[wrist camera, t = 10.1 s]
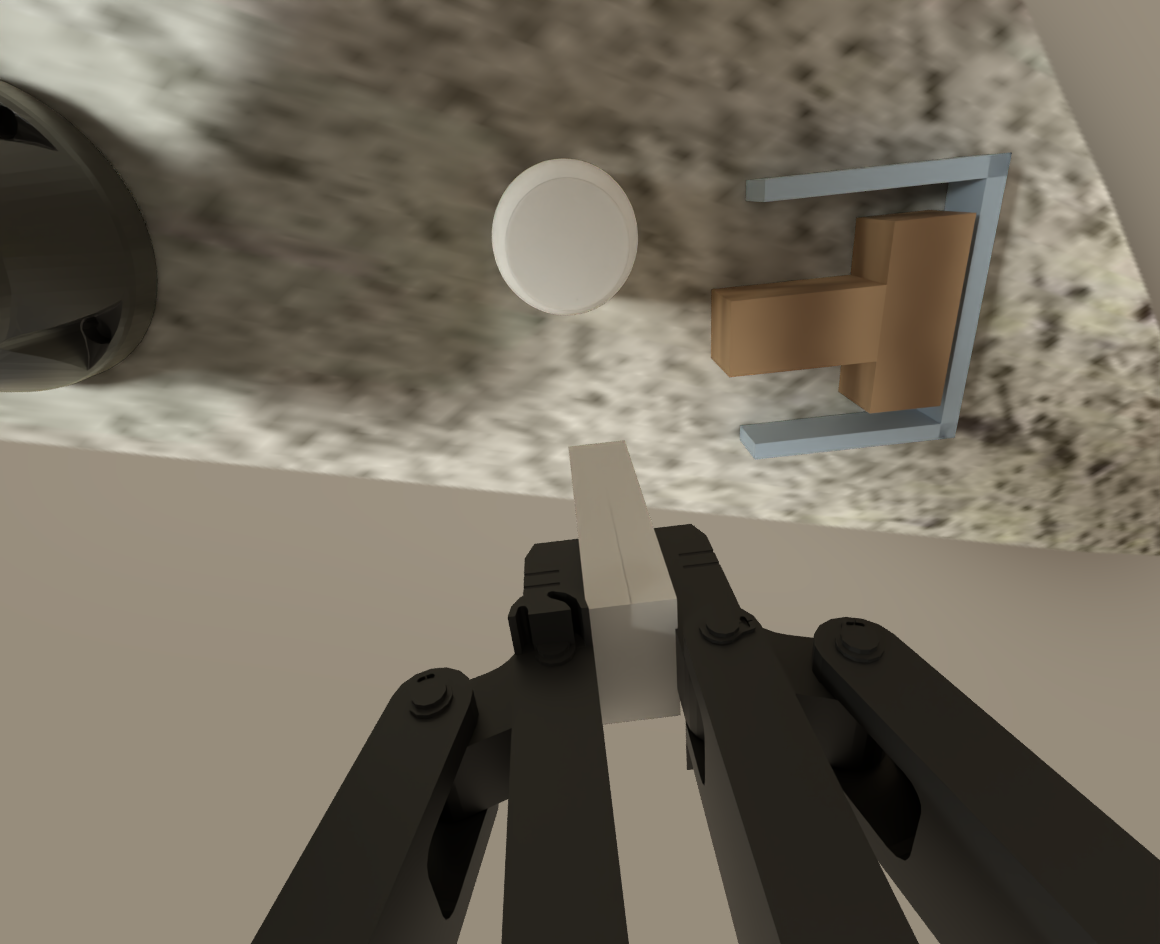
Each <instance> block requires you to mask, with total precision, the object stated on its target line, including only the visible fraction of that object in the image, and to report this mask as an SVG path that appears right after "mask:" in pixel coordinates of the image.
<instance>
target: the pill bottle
mask: <svg viewBox="0 0 1160 944" xmlns="http://www.w3.org/2000/svg"><path fill="white" fill-rule="evenodd" d="M492 246H493V252H494V257H495V260H496V264H497V266H498V268H499V271H500V273H501V275H502V277H503V278H504V280H505V282H506V283H507V285H508V286H509V287H510V288H511V290H512V291H513V292H514V293H515V294H516V295H517V296H518V297H520V298H521V299H522V300H523V301H525V302H526V303H527V304H529V305H531V306H532V307H534V308H536V309H538V310H541V311H543V312H546V313H550V314H555V315H576V314H581V313H585V312H588V311H591V310H593V309H595V308H597V307H599V306H601V305H603V304H604V303H606V302H607V301H608V300H610V299H611V298H612V297H613V296H614V295H615V294H616V293H617V292H618V291H619V289H620V288H621V287H622V286H623V285H624V283H625V281H626V280H627V278H628V276H629V274H630V272H631V270H632V268H633V265H634V262H635V258H636V254H637V247H638V229H637V222H636V218H635V213H634V211H633V208H632V205H631V203H630V201H629V199H628V197H627V195H626V194H625V192H624V191H623V189H622V188H621V187H620V186H619V184H618V183H617V182H616V181H615V180H614V179H613V178H612V177H611V176H610V175H609V174H607V173H606V172H605V171H603V170H602V169H600V168H598V167H596V166H595V165H592V164H590V163H587V162H584V161H581V160H576V159H565V158H562V159H552V160H547V161H544V162H541V163H538V164H536V165H534V166H532V167H530V168H528V169H527V170H525V171H523V172H522V173H521V174H520V175H519V176H517V177H516V178H515V179H514V180H513V181H512V183H511V184H510V185H509V186H508V188H507V189H506V190H505V192H504V193H503V195H502V197H501V199H500V201H499V204H498V206H497V208H496V211H495V215H494V219H493V225H492Z"/></svg>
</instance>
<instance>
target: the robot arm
mask: <svg viewBox="0 0 1160 944" xmlns="http://www.w3.org/2000/svg"><path fill="white" fill-rule="evenodd" d="M156 296H157V270H156V263H155V257H154V252H153V247H152V244H151V240H150V237H149V234H148V231H147V228H146V225H145V223H144V221H143V218H142V216H141V214H140V211H139V209H138V207H137V205H136V203H135V201H134V200H133V198H132V196H131V194H130V193H129V191H128V189H127V188H126V186H125V185H124V183H123V182H122V180H121V178H120V177H119V176H118V174H117V173H116V172H115V170H114V169H113V167H112V166H111V165H110V164H109V162H108V161H107V160H106V159H105V157H104V156H103V155H102V154H101V153H100V152H99V151H98V150H97V148H96V147H95V146H94V145H93V144H92V143H91V142H90V141H89V140H88V139H87V138H86V137H85V136H84V135H83V134H82V133H81V132H80V131H79V130H77V129H76V128H75V127H74V126H73V125H72V124H71V123H69V122H68V121H67V120H66V119H64V118H63V117H62V116H61V115H59V114H58V113H57V112H55V111H54V110H53V109H51V108H50V107H48V106H47V105H46V104H44V103H42V102H41V101H39V100H38V99H36V98H34V97H33V96H31V95H29V94H27V93H26V92H24V91H22V90H20V89H18V88H16V87H14V86H12V85H10V84H8V83H6V82H3V81H1V80H0V392H34V391H44V390H50V389H56V388H60V387H64V386H68V385H71V384H74V383H77V382H79V381H82V380H84V379H86V378H89V377H91V376H94V375H96V374H99V373H101V372H103V371H106V370H108V369H110V368H111V367H113V366H115V365H116V364H118V363H119V362H121V361H122V360H123V359H125V358H126V357H127V356H128V355H129V354H130V353H131V352H132V351H133V350H134V349H135V348H136V346H137V345H138V344H139V343H140V341H141V340H142V338H143V337H144V335H145V333H146V331H147V329H148V327H149V324H150V322H151V319H152V316H153V313H154V308H155V303H156ZM569 456H570V465H571V474H572V484H573V493H574V502H575V511H576V519H577V529H578V538H579V539H572V540H564V541H556V542H548V543H539V544H534V546H533V547H532V549H531V550H530V551H529V553H528V554H527V556H526V558H525V567H524V592H523V596H522V597H520V598H519V599H518V600H517V601H516V602H515V603H514V604H513V606H511V609H510V612H509V615H508V621H509V627H510V631H511V636H512V641H513V646H514V652H515V654H514V655H513V656H512V657H511V658H510V659H509V660H508V661H507V662H506V663H504V664H503V665H502V666H500V667H499V668H497V669H495V670H493V671H491V672H489V673H486V674H484V675H481V676H478V677H476V678H473V679H470V680H469V678H468V677H467V676H466V675H464V674H463V673H462V672H461V671H459V670H455V669H451V668H435V669H429V670H427V671H424V672H422V673H419V674H416V675H414V676H413V677H412V678H410V679H409V680H407V681H406V682H404V683H403V684H402V685H401V686H400V687H399V689H398V690H397V691H396V692H395V693H394V695H393V696H392V698H391V699H390V701H389V703H388V705H387V707H386V708H385V710H384V712H383V714H382V715H381V717H380V719H379V720H378V722H377V724H376V726H375V727H374V729H373V731H372V733H371V735H370V736H369V738H368V740H367V741H366V743H365V745H364V747H363V748H362V750H361V752H360V754H359V755H358V757H357V759H356V761H355V762H354V764H353V766H352V768H351V769H350V771H349V773H348V775H347V776H346V778H345V780H344V782H343V783H342V785H341V787H340V789H339V790H338V792H337V794H336V796H335V797H334V799H333V801H332V803H331V804H330V806H329V808H328V810H327V811H326V813H325V815H324V817H323V818H322V820H321V822H320V824H319V826H318V827H317V829H316V831H315V833H314V834H313V836H312V838H311V839H310V841H309V843H308V845H307V846H306V848H305V850H304V852H303V853H302V855H301V857H300V859H299V860H298V862H297V864H296V866H295V867H294V869H293V871H292V873H291V874H290V876H289V878H288V880H287V881H286V883H285V885H284V887H283V888H282V890H281V892H280V894H279V895H278V897H277V899H276V901H275V902H274V904H273V906H272V908H271V909H270V911H269V913H268V915H267V917H266V918H265V920H264V922H263V923H262V925H261V927H260V929H259V930H258V932H257V934H256V936H255V938H254V939H253V941H252V943H251V944H457V941H458V938H459V935H460V931H461V928H462V925H463V922H464V918H465V915H466V912H467V909H468V905H469V902H470V899H471V895H472V892H473V889H474V886H475V882H476V879H477V876H478V873H479V869H480V866H481V863H482V860H483V856H484V853H485V850H486V846H487V843H488V840H489V837H490V834H491V830H492V827H493V824H494V821H495V817H496V814H497V811H498V804H499V803H500V802H502V801H504V800H507V799H508V818H507V820H508V821H507V839H506V840H507V841H506V860H505V881H504V883H505V884H504V904H503V924H502V944H629V941H628V933H627V925H626V916H625V908H624V900H623V891H622V883H621V876H620V875H621V874H620V866H619V858H618V849H617V841H616V832H615V825H614V817H613V807H612V799H611V791H610V782H609V774H608V766H607V757H606V749H605V742H604V732H603V724H612V723H620V722H629V721H636V720H645V719H654V718H662V717H669V716H678V715H680V701H681V705H682V708H683V712H684V716H685V719H686V753H687V770H691V769H694V773H695V777H696V781H697V785H698V789H699V792H700V796H701V800H702V804H703V808H704V811H705V816H706V819H707V823H708V827H709V831H710V835H711V839H712V843H713V846H714V850H715V854H716V858H717V862H718V866H719V870H720V873H721V877H722V881H723V885H724V889H725V893H726V896H727V900H728V904H729V908H730V912H731V916H732V920H733V924H734V927H735V931H736V935H737V939H738V943H739V944H919V943H918V941H917V939H916V937H915V935H914V933H913V931H912V929H911V927H910V925H909V923H908V921H907V919H906V917H905V915H904V913H903V911H902V909H901V907H900V905H899V903H898V901H897V899H896V897H895V895H894V893H893V891H892V889H891V887H890V885H889V883H888V881H887V879H886V877H885V875H884V872H883V871H882V868H881V866H880V864H881V865H882V867H883V868H884V869H885V871H886V872H887V873H888V875H889V876H890V877H891V879H892V880H893V881H894V883H895V884H896V885H897V887H898V888H899V889H900V891H901V892H902V893H903V895H904V896H905V897H906V899H907V900H908V901H909V903H910V904H911V905H912V907H913V908H914V909H915V911H916V912H917V913H918V915H919V916H920V917H921V919H922V920H923V921H924V923H925V924H926V925H927V927H928V928H929V929H930V931H931V932H932V933H933V935H934V936H935V937H936V939H937V940H938V941H939V943H940V944H1160V860H1159V859H1158V858H1157V857H1155V856H1154V855H1153V854H1152V853H1151V852H1150V851H1148V850H1147V849H1146V848H1145V847H1144V846H1143V845H1141V844H1140V843H1139V842H1138V841H1137V840H1135V839H1134V838H1133V837H1132V836H1131V835H1129V834H1128V833H1127V832H1126V831H1125V830H1124V829H1122V828H1121V827H1120V826H1119V825H1118V824H1116V823H1115V822H1114V821H1113V820H1112V819H1111V818H1110V817H1108V816H1107V815H1106V814H1105V813H1104V812H1103V811H1101V810H1100V809H1099V808H1098V807H1097V806H1095V805H1094V804H1093V803H1092V802H1091V801H1090V800H1088V799H1087V798H1086V797H1085V796H1084V795H1083V794H1081V793H1080V792H1079V791H1078V790H1077V789H1075V788H1074V787H1073V786H1072V785H1071V784H1070V783H1068V782H1067V781H1066V780H1065V779H1064V778H1063V777H1061V776H1060V775H1059V774H1058V773H1057V772H1055V771H1054V770H1053V769H1052V768H1051V767H1050V766H1048V765H1047V764H1046V763H1045V762H1044V761H1042V760H1041V759H1040V758H1039V757H1038V756H1037V755H1035V754H1034V753H1033V752H1032V751H1031V750H1030V749H1028V748H1027V747H1026V746H1025V745H1024V744H1023V743H1021V742H1020V741H1019V740H1018V739H1017V738H1015V737H1014V736H1013V735H1012V734H1011V733H1009V732H1008V731H1007V730H1006V729H1005V728H1004V727H1003V726H1001V725H1000V724H999V723H998V722H997V721H995V720H994V719H993V718H992V717H991V716H990V715H988V714H987V713H986V712H985V711H984V710H982V709H981V708H980V707H979V706H978V705H977V704H975V703H974V702H973V701H972V700H971V699H970V698H968V697H967V696H966V695H965V694H964V693H962V692H961V691H960V690H959V689H958V688H957V687H955V686H954V685H953V684H952V683H951V682H950V681H948V680H947V679H946V678H945V677H944V676H942V675H941V674H940V673H939V672H938V671H937V670H935V669H934V668H933V667H932V666H931V665H930V664H928V663H927V662H926V661H925V660H924V659H922V658H921V657H920V656H919V655H918V654H917V653H915V652H914V651H913V650H912V649H911V648H910V647H908V646H907V645H906V644H905V643H904V642H902V641H901V640H900V639H899V638H898V637H896V636H895V635H894V634H893V633H891V632H890V631H888V630H887V629H885V628H884V627H882V626H880V625H879V624H876V623H873V622H870V621H867V620H864V619H859V618H849V617H842V618H836V619H830V620H829V621H827V622H825V623H823V624H821V625H820V626H819V627H818V629H817V630H816V632H815V634H814V638H810V637H801V636H793V635H786V634H780V633H775V632H772V631H770V630H767V629H764V628H762V626H761V624H760V623H759V622H758V621H757V620H756V618H755V617H754V616H753V615H751V614H750V613H748V612H746V611H745V610H743V609H741V608H740V606H739V604H738V602H737V599H736V597H735V595H734V593H733V591H732V589H731V587H730V585H729V583H728V580H727V578H726V576H725V574H724V572H723V570H722V568H721V566H720V565H719V561H718V559H717V557H716V555H715V553H713V549H712V547H711V544H710V542H709V540H708V538H707V536H706V535H705V534H704V533H703V532H701V531H700V530H698V529H697V528H696V527H695V526H693V525H692V524H686V525H677V526H669V527H660V528H653V525H652V522H651V519H650V516H649V512H648V509H647V506H646V503H645V500H644V497H643V494H642V491H641V488H640V485H639V482H638V479H637V476H636V473H635V470H634V467H633V464H632V461H631V458H630V455H629V452H628V449H627V446H626V443H625V440H623V441H614V442H606V443H597V444H588V445H580V446H571V447H569ZM878 861H879V862H878ZM879 863H880V864H879Z"/></svg>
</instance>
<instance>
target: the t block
mask: <svg viewBox="0 0 1160 944" xmlns="http://www.w3.org/2000/svg"><path fill="white" fill-rule="evenodd" d="M975 218H976V213H972V212H955V211H937V210H924V211H915V212H905V213H896V214H886V215H877V216H868V217H858V218H856V227H855V237H854V246H853V256H852V265H851V275H842V276H833V277H823V278H814V279H805V280H795V281H786V282H776V283H767V284H757V285H748V286H739V287H729V288H720V289H711V358H712V359H713V360H714V362H715V363H716V364H717V365H718V366H719V367H720V368H721V369H722V370H723V371H724V372H725V373H726V374H727V375H728V376H729V377H736V376H745V375H755V374H764V373H773V372H783V371H792V370H802V369H811V368H820V367H830V366H839V365H841V371H840V380H839V390H838V392H840V393H841V394H843V395H844V396H845V397H847V398H848V399H850V400H851V401H853V402H854V403H855V404H857V405H858V406H860V407H861V408H863V409H864V410H865V411H867V412H868V413H880V412H889V411H898V410H908V409H917V408H927V407H936V406H940V405H941V400H942V395H943V389H944V384H945V379H946V373H947V368H948V363H949V357H950V352H951V346H952V341H953V336H954V330H955V325H956V320H957V314H958V309H959V304H960V298H961V293H962V288H963V282H964V277H965V272H966V266H967V261H968V256H969V250H970V245H971V240H972V234H973V229H974V223H975Z"/></svg>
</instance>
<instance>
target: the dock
mask: <svg viewBox="0 0 1160 944" xmlns="http://www.w3.org/2000/svg"><path fill="white" fill-rule="evenodd" d="M1011 154H1012V153H1001V154H988V155H975V156H964V157H955V158H946V159H937V160H928V161H919V162H909V163H900V164H891V165H882V166H873V167H863V168H854V169H845V170H836V171H827V172H817V173H808V174H799V175H790V176H781V177H771V178H762V179H753V180H746V201H755V202H770V201H779V200H789V199H798V198H807V197H816V196H825V195H834V194H844V193H853V192H862V191H871V190H880V189H890V188H899V187H908V186H917V185H926V184H936V183H945V182H949V184H948V190H947V196H946V202H945V208H944V211H955V212H972V213H976V218H975V223H974V229H973V234H972V240H971V245H970V250H969V256H968V261H967V266H966V272H965V277H964V282H963V288H962V293H961V298H960V304H959V309H958V314H957V320H956V325H955V330H954V336H953V341H952V346H951V352H950V357H949V363H948V368H947V373H946V379H945V384H944V389H943V395H942V400H941V405H940V406H936V407H927V408H917V409H908V410H898V411H889V412H880V413H868V412H860V413H851V414H842V415H832V416H823V417H814V418H805V419H796V420H787V421H778V422H768V423H759V424H750V425H741V426H740V441H741V442H742V443H743V445H744V446H745V447H746V449H747V450H748V451H749V453H750V454H751V455H752V457H753V458H754V459H764V458H773V457H782V456H791V455H801V454H810V453H819V452H828V451H837V450H846V449H855V448H864V447H874V446H883V445H892V444H901V443H910V442H919V441H928V440H937V439H947V438H955V434H956V429H957V424H958V419H959V414H960V409H961V404H962V399H963V394H964V389H965V384H966V379H967V374H968V369H969V364H970V359H971V354H972V349H973V344H974V339H975V334H976V329H977V324H978V319H979V314H980V309H981V304H982V299H983V294H984V289H985V284H986V279H987V274H988V269H989V264H990V259H991V254H992V249H993V244H994V239H995V234H996V229H997V224H998V219H999V214H1000V209H1001V204H1002V199H1003V194H1004V189H1005V184H1006V179H1007V174H1008V169H1009V164H1010V159H1011Z"/></svg>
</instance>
